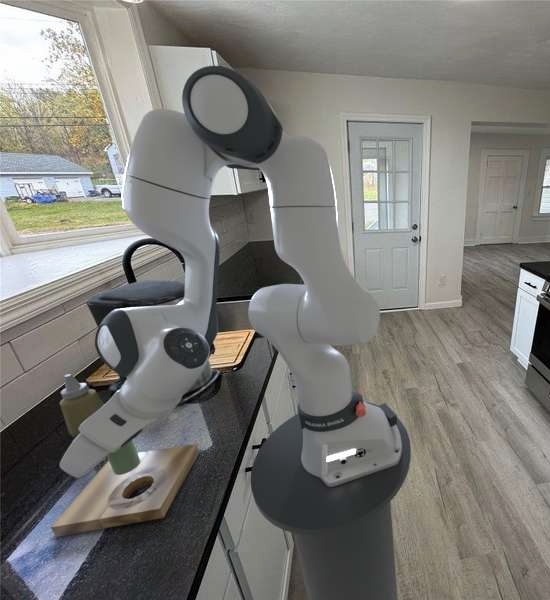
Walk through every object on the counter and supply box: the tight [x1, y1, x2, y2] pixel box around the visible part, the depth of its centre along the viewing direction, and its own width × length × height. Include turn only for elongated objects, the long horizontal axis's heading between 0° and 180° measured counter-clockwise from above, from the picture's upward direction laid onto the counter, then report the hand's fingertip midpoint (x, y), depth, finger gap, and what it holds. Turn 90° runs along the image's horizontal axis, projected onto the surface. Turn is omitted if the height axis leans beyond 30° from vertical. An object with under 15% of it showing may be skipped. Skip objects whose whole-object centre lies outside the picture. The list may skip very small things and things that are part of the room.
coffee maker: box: [85, 279, 221, 406], centre depth 93 cm, size 23×32×34 cm
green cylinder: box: [106, 439, 140, 475], centre depth 59 cm, size 4×4×12 cm
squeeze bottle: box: [59, 373, 105, 439], centre depth 78 cm, size 8×8×18 cm
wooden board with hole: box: [50, 443, 200, 537], centre depth 65 cm, size 18×16×2 cm
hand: (114, 442), depth 59 cm, fingers closed on green cylinder, 4 cm apart
